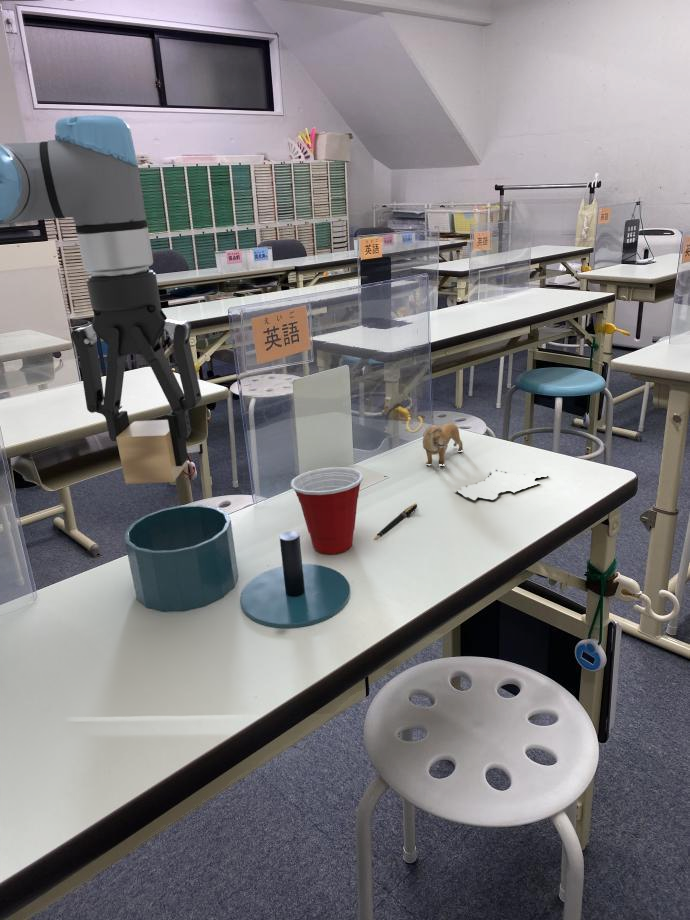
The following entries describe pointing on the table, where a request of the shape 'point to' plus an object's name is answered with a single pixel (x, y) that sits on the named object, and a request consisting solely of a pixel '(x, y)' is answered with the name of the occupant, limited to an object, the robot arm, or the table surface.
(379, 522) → the table surface
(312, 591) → the lid
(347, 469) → the plastic cup
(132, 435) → the block
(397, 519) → the fountain pen
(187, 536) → the tin
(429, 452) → the lion figurine
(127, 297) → the robot arm
